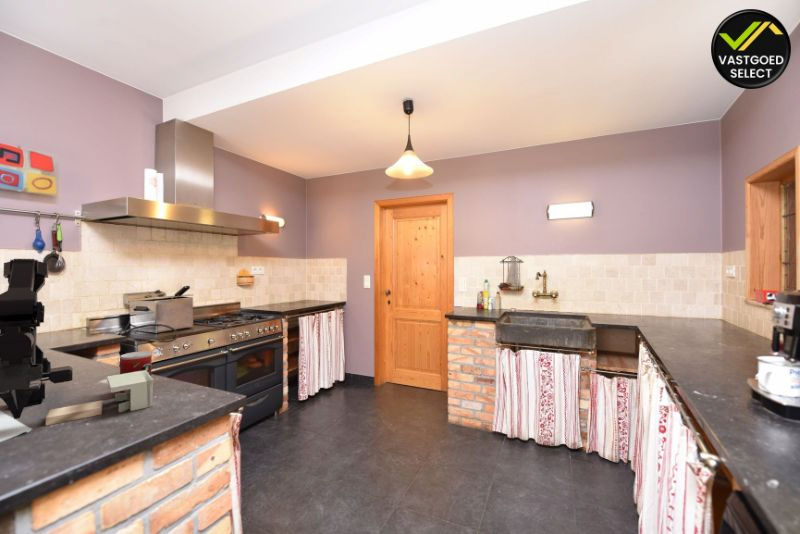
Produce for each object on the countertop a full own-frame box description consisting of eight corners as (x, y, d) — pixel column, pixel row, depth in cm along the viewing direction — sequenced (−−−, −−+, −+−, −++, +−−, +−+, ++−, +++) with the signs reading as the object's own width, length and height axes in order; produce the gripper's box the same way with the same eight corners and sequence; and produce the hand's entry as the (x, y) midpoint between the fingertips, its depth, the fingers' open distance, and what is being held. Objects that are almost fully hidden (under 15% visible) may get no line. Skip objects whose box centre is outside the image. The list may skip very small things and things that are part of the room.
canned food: (134, 395, 101) (134, 357, 101) (112, 393, 103) (112, 356, 103) (158, 386, 109) (158, 351, 109) (137, 385, 110) (137, 350, 110)
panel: (45, 427, 82) (45, 418, 82) (50, 418, 87) (50, 409, 87) (101, 415, 88) (101, 407, 88) (102, 408, 93) (102, 400, 93)
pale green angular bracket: (110, 415, 87) (111, 387, 87) (107, 401, 96) (107, 376, 96) (153, 405, 93) (153, 380, 93) (145, 393, 103) (145, 370, 103)
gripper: (-58, 366, 68) (-58, 444, 68) (72, 350, 81) (72, 416, 81) (-44, 356, 76) (-44, 426, 76) (72, 343, 89) (72, 403, 89)
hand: (17, 418), depth 81 cm, fingers closed
